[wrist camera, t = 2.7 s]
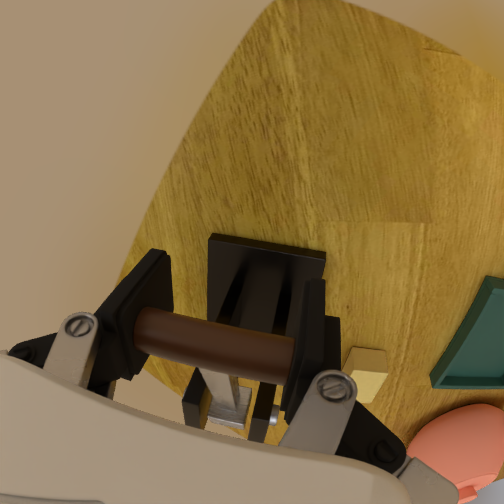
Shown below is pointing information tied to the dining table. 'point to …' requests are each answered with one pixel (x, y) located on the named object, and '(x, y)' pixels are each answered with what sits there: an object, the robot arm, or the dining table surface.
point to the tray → (476, 345)
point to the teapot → (463, 447)
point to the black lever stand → (251, 309)
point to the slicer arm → (217, 357)
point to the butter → (366, 371)
